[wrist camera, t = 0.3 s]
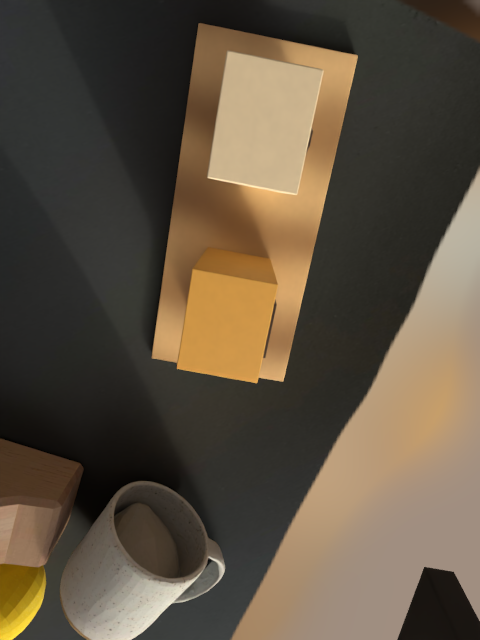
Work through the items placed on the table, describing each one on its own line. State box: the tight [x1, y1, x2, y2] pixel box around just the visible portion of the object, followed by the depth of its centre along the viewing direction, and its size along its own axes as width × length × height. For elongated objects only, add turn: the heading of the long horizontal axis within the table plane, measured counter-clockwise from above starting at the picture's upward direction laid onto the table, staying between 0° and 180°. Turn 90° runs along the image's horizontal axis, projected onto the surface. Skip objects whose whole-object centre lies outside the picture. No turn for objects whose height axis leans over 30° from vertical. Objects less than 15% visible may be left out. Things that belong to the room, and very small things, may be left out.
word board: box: [152, 23, 358, 382], centre depth 28 cm, size 20×9×1 cm, turn 169°
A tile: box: [207, 50, 324, 195], centre depth 23 cm, size 5×4×8 cm
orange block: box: [177, 247, 278, 383], centre depth 26 cm, size 5×4×8 cm
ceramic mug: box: [60, 481, 225, 640], centre depth 32 cm, size 11×8×8 cm
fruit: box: [0, 563, 46, 640], centre depth 32 cm, size 6×6×8 cm
